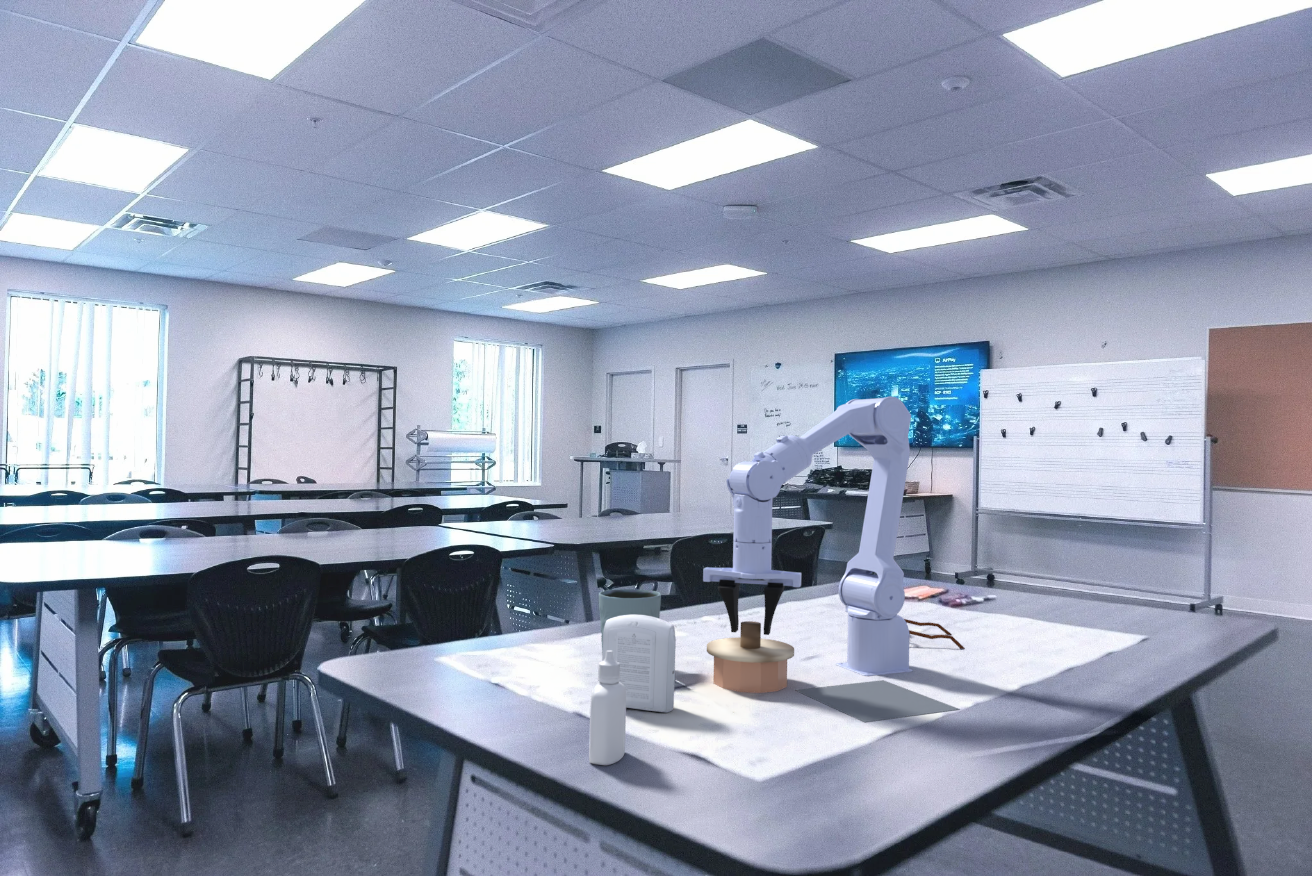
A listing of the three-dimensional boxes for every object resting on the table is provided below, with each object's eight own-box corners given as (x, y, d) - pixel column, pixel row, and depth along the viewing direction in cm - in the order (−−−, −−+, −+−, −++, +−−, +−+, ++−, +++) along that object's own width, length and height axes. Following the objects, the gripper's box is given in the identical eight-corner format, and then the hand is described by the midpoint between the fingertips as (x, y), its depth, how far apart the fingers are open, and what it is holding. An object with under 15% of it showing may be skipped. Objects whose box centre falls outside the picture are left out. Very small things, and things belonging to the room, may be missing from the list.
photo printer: (678, 706, 118) (680, 615, 119) (669, 715, 114) (671, 621, 114) (607, 698, 121) (609, 609, 122) (596, 707, 117) (598, 615, 118)
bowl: (761, 673, 137) (762, 641, 137) (800, 691, 127) (801, 657, 127) (701, 679, 132) (701, 646, 132) (736, 698, 123) (737, 663, 123)
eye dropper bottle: (575, 757, 98) (577, 650, 98) (614, 747, 101) (617, 644, 101) (599, 769, 94) (601, 658, 94) (638, 758, 98) (641, 651, 98)
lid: (763, 640, 138) (763, 613, 138) (811, 658, 127) (812, 628, 127) (691, 646, 133) (691, 618, 133) (735, 665, 121) (735, 634, 121)
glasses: (883, 633, 173) (883, 608, 173) (951, 636, 171) (951, 611, 171) (892, 647, 160) (892, 620, 160) (965, 651, 158) (966, 623, 158)
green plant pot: (623, 679, 132) (625, 600, 132) (583, 666, 139) (585, 591, 140) (673, 669, 138) (674, 594, 139) (632, 657, 146) (634, 586, 146)
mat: (883, 683, 133) (883, 680, 133) (960, 712, 118) (960, 709, 118) (794, 693, 126) (794, 689, 126) (864, 725, 111) (864, 721, 111)
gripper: (699, 541, 128) (697, 633, 128) (798, 546, 124) (796, 641, 124) (709, 537, 135) (707, 625, 135) (803, 541, 131) (801, 632, 131)
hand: (750, 632), depth 130 cm, fingers open, 4 cm apart
